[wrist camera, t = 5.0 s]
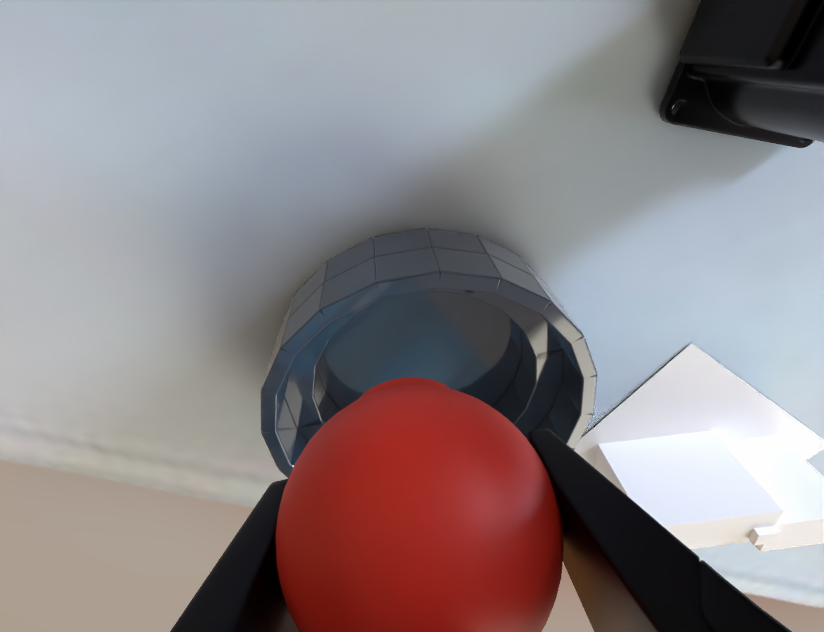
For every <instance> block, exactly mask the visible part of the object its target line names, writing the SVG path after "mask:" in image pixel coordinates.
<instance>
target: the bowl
mask: <svg viewBox="0 0 824 632" xmlns="http://www.w3.org/2000/svg"><path fill="white" fill-rule="evenodd" d="M408 377H416V378H425V379H430V380H434V381H437V382H439V383H442V384H444V385H446V386H447V387H449V388H450V389H453V390H457V391H460V392H462V393H465V394H468V395H470V396H473V397H475V398H477V399H479V400H481V401H483V402H484V403H486V404H488V405H489V406H491V407H493V408H494V409H496V410H497V411H498V412H500V413H501V414H502V415H504V416H505V417H506V418H507V419H508V420H509V421H510V422H512V423H513V424H514V425H515V426H516V427H517V428H518V429H519V431H520V432H521V433H522V434H523V435H524V436H525V437H526V438H527V433H528V432H529V431H530V430H535V429H540V428H548V429H550V430H551V431H552V432H553V433H554V434H555V435H557V436H558V437H559V438H560V439H561V440H563V441H564V442H565V443H566V444H567V445H568V446H570V447H571V448H572V449H573V450H575V448H576V447H577V445H578V443H579V441H580V439H581V437H582V435H583V433H584V431H585V429H586V427H587V426H588V424H589V422H590V420H591V418H592V416H593V413H594V403H595V393H596V383H597V372H596V369H595V366H594V363H593V360H592V357H591V354H590V351H589V348H588V345H587V342H586V339H585V337H584V335H583V333H582V332H581V330H580V329H579V328H578V326H577V325H576V324H575V322H574V321H573V320H572V318H571V317H570V316H569V314H568V313H567V312H566V310H565V309H564V308H563V307H562V305H561V304H560V302H559V301H558V300H557V298H556V297H555V296H554V294H553V293H552V292H551V290H550V289H549V288H548V286H547V285H546V284H545V283H544V282H543V281H542V280H541V279H540V278H539V276H538V275H537V274H536V273H535V272H534V271H533V270H532V269H531V268H530V267H529V266H528V265H527V264H526V263H525V262H524V260H523V259H522V258H521V257H520V256H518V255H517V254H515V253H513V252H511V251H509V250H507V249H505V248H503V247H501V246H499V245H497V244H495V243H493V242H491V241H489V240H487V239H485V238H483V237H481V236H479V235H474V234H467V233H460V232H452V231H445V230H437V229H430V228H427V229H426V228H421V229H415V230H410V231H404V232H398V233H392V234H386V235H381V236H375V237H374V238H370V239H369V240H367V241H365V242H363V243H361V244H359V245H357V246H355V247H353V248H351V249H349V250H347V251H345V252H343V253H341V254H339V255H337V256H335V257H333V258H331V259H330V260H329V261H326V263H325V264H324V265H323V266H322V267H321V268H320V269H319V270H318V271H317V272H316V273H315V274H314V275H313V276H312V277H311V278H310V279H309V280H308V281H307V282H306V283H305V284H304V285H303V286H302V287H301V288H300V289H299V290H298V291H297V292H296V294H295V295H294V297H293V300H292V302H291V304H290V307H289V309H288V311H287V313H286V316H285V318H284V320H283V323H282V325H281V327H280V329H279V332H278V335H277V339H276V342H275V345H274V349H273V352H272V355H271V358H270V362H269V365H268V368H267V372H266V375H265V378H264V382H263V385H262V388H261V432H262V435H263V437H264V440H265V442H266V444H267V446H268V448H269V450H270V452H271V455H272V457H273V459H274V461H275V463H276V465H277V467H278V468H279V470H280V471H281V472H282V473H283V474H284V475H285V476H287V477H288V478H289V476H290V474H291V471H292V469H293V467H294V465H295V463H296V461H297V459H298V458H299V456H300V455H301V453H302V451H303V450H304V448H305V447H306V445H307V444H308V442H309V441H310V439H311V438H312V437H313V436H314V435H315V434H316V433H317V431H318V430H319V429H320V428H321V427H322V426H323V425H324V424H325V423H326V422H327V421H328V420H329V419H330V418H332V417H333V416H334V415H335V414H336V413H338V412H339V411H341V410H342V409H344V408H345V407H347V406H348V405H350V404H351V403H353V402H354V401H356V400H358V399H359V397H360V396H362V395H363V394H364V393H365V392H366V391H368V390H369V389H371V388H373V387H375V386H377V385H378V384H381V383H384V382H386V381H390V380H393V379H399V378H408Z"/></svg>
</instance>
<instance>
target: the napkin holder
mask: <svg viewBox="0 0 824 632" xmlns="http://www.w3.org/2000/svg"><path fill="white" fill-rule="evenodd" d="M823 449H824V439H822V438H821V437H820V436H818V435H817V434H816V433H814V432H813V431H811V430H810V429H809V428H807V427H806V426H805V425H803V424H802V423H800V422H799V421H798V420H796V419H795V418H794V417H792V416H791V415H790V414H788V413H787V412H785V411H784V410H783V409H781V408H780V407H779V406H777V405H776V404H774V403H773V402H772V401H770V400H769V399H768V398H766V397H765V396H763V395H762V394H761V393H759V392H758V391H757V390H755V389H754V388H753V387H751V386H750V385H748V384H747V383H746V382H744V381H743V380H742V379H740V378H739V377H737V376H736V375H735V374H733V373H732V372H731V371H729V370H728V369H727V368H725V367H724V366H722V365H721V364H720V363H718V362H717V361H716V360H714V359H713V358H711V357H710V356H709V355H707V354H706V353H705V352H703V351H702V350H701V349H699V348H698V347H696V346H695V345H694V344H692V343H691V344H690V345H689V346H688V347H687V348H685V349H684V350H683V351H682V352H681V353H680V354H678V355H677V356H676V357H675V358H674V359H673V360H671V361H670V362H669V363H668V364H667V365H666V366H665V367H663V368H662V369H661V370H660V371H659V372H658V373H656V374H655V375H654V376H653V377H652V378H651V379H649V380H648V381H647V382H646V383H645V384H644V385H643V386H641V387H640V388H639V389H638V390H637V391H636V392H634V393H633V394H632V395H631V396H630V397H629V398H627V399H626V400H625V401H624V402H623V403H622V404H620V405H619V406H618V407H617V408H616V409H615V410H614V411H612V412H611V413H610V414H609V415H608V416H607V417H605V418H604V419H603V420H602V421H601V422H600V423H598V424H597V425H596V426H595V427H594V428H593V429H592V430H590V431H589V432H588V433H587V434H586V435H585V436H583V437H582V438H581V439H580V441H579V443H578V445H577V447H576V448H575V450H574V451H575V452H577V453H578V454H579V455H580V456H581V457H582V458H584V459H585V460H586V461H587V462H588V463H589V464H591V465H592V466H593V467H594V468H595V469H597V470H598V471H599V472H600V473H601V474H602V475H604V476H605V477H606V478H607V479H608V480H609V481H611V482H612V483H613V484H614V485H615V486H616V487H618V488H619V489H620V490H621V491H622V492H623V493H625V494H626V495H627V496H628V497H629V498H630V499H632V500H633V501H634V502H635V503H636V504H638V505H639V506H640V507H641V508H642V509H643V510H645V511H646V512H647V513H648V514H649V515H650V516H652V517H653V518H654V519H655V520H656V521H657V522H659V523H660V524H661V525H662V526H663V527H664V528H666V529H667V530H668V531H669V532H670V533H672V534H673V535H674V536H675V537H676V538H677V539H679V540H680V541H681V542H682V543H683V544H684V545H686V546H687V547H688V548H689V549H695V548H703V547H711V546H718V545H726V544H733V543H741V542H749V541H751V543H752V544H753V545H755V546H756V547H757V549H758V550H759V551H760V552H761V551H768V550H776V549H784V548H791V547H799V546H806V545H814V544H821V543H824V477H823V476H822V475H821V474H820V473H819V472H818V471H817V470H816V469H815V468H814V467H813V466H812V465H811V464H810V463H809V462H807V461H806V460H808V459H809V458H811V457H812V456H814V455H815V454H817V453H818V452H820V451H821V450H823Z"/></svg>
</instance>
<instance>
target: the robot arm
mask: <svg viewBox="0 0 824 632" xmlns="http://www.w3.org/2000/svg"><path fill="white" fill-rule="evenodd" d="M678 102H679V104H680V107H679V110H678V111H677V113H675V114H674V115H673V113H672V110H673V107H674V106H675V104H677V103H678ZM659 113H660V117H661V119H662V120H663V121H665V122H667V123H671V124H675V125H681V126H686V127H691V128H697V129H702V130H707V131H713V132H718V133H723V134H728V135H734V136H739V137H744V138H750V139H755V140H760V141H765V142H771V143H776V144H781V145H787V146H792V147H797V148H804V147H807V146H809V145H810V144H811V143H813V142H814V141H815V140H816V141H821V142H824V0H701V2H700V5H699V7H698V10H697V12H696V15H695V17H694V19H693V22H692V24H691V27H690V29H689V32H688V34H687V37H686V39H685V41H684V44H683V46H682V49H681V51H680V60H679V62H678V65H677V67H676V70H675V72H674V74H673V77H672V79H671V82H670V84H669V87H668V89H667V91H666V94H665V96H664V99H663V101H662V104H661V106H660V110H659ZM527 440H528V441H529V442H530V444H531V445H532V447H533V448H534V449H535V451H536V453H537V454H538V456H539V457H540V459H541V461H542V463H543V465H544V466H545V468H546V470H547V472H548V475H549V477H550V480H551V483H552V486H553V489H554V491H555V494H556V498H557V501H558V505H559V509H560V514H561V519H562V527H563V542H564V552H563V562H564V565H565V567H566V569H567V571H568V574H569V576H570V578H571V580H572V583H573V585H574V587H575V589H576V591H577V593H578V596H579V598H580V601H581V603H582V605H583V607H584V610H585V612H586V614H587V616H588V618H589V621H590V623H591V625H592V627H593V630H594V632H792V631H790V630H789V629H788V628H786V627H785V626H784V625H782V624H781V623H780V622H778V621H777V620H776V619H774V618H773V617H772V616H770V615H769V614H768V613H767V612H765V611H764V610H762V609H761V608H760V607H759V606H757V605H756V604H755V603H754V602H752V601H751V600H750V599H749V598H747V597H746V596H745V595H744V594H743V593H741V592H740V591H739V590H738V589H737V588H735V587H734V586H733V585H732V584H730V583H729V582H728V581H727V580H726V579H724V578H723V577H722V576H721V575H720V574H719V573H717V572H716V571H715V570H714V569H713V568H712V567H710V566H709V565H708V564H707V563H706V562H705V561H702V560H701V561H700V562H699V557H698V556H697V555H696V554H695V553H694V552H693V551H691V550H690V549H689V548H688V547H687V546H686V545H684V544H683V543H682V542H681V541H680V540H679V539H677V538H676V537H675V536H674V535H673V534H672V533H670V532H669V531H668V530H667V529H666V528H664V527H663V526H662V525H661V524H660V523H659V522H657V521H656V520H655V519H654V518H653V517H652V516H650V515H649V514H648V513H647V512H646V511H645V510H643V509H642V508H641V507H640V506H639V505H638V504H636V503H635V502H634V501H633V500H632V499H630V498H629V497H628V496H627V495H626V494H625V493H623V492H622V491H621V490H620V489H619V488H618V487H616V486H615V485H614V484H613V483H612V482H611V481H609V480H608V479H607V478H606V477H605V476H604V475H602V474H601V473H600V472H599V471H598V470H597V469H595V468H594V467H593V466H592V465H591V464H589V463H588V462H587V461H586V460H585V459H584V458H582V457H581V456H580V455H579V454H578V453H577V452H575V451H574V450H573V449H572V448H571V447H570V446H568V445H567V444H566V443H565V442H564V441H563V440H561V439H560V438H559V437H558V436H557V435H555V434H554V433H553V432H552V431H551V430H550V429H548V428H540V429H535V430H530V431H529V432H528V433H527ZM287 481H288V479H286V480H281V481H276V482H273V483H272V484H271V485H270V486H269V487H268V489H267V490H266V492H265V493H264V495H263V496H262V498H261V499H260V501H259V502H258V503H257V505H256V506H255V508H254V509H253V511H252V512H251V514H250V515H249V517H248V518H247V520H246V521H245V523H244V524H243V525H242V527H241V529H240V530H239V532H238V533H237V534H236V536H235V537H234V539H233V540H232V542H231V543H230V545H229V546H228V548H227V549H226V551H225V552H224V553H223V555H222V556H221V558H220V559H219V561H218V562H217V564H216V565H215V567H214V568H213V570H212V571H211V573H210V574H209V576H208V577H207V578H206V580H205V581H204V583H203V584H202V586H201V587H200V589H199V590H198V592H197V593H196V595H195V596H194V598H193V599H192V600H191V602H190V603H189V605H188V606H187V608H186V609H185V611H184V612H183V614H182V615H181V617H180V618H179V620H178V621H177V622H176V624H175V626H174V627H173V628H172V630H171V631H170V632H299V630H298V628H297V627H296V625H295V623H294V621H293V619H292V617H291V615H290V613H289V610H288V607H287V605H286V602H285V599H284V596H283V593H282V589H281V585H280V580H279V575H278V570H277V558H276V528H277V518H278V513H279V507H280V503H281V499H282V495H283V492H284V488H285V486H286V483H287Z"/></svg>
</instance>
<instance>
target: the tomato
mask: <svg viewBox="0 0 824 632" xmlns="http://www.w3.org/2000/svg"><path fill="white" fill-rule="evenodd" d="M563 552H564V542H563V527H562V519H561V514H560V509H559V505H558V501H557V498H556V494H555V491H554V489H553V486H552V483H551V480H550V477H549V475H548V472H547V470H546V468H545V466H544V465H543V463H542V461H541V459H540V457H539V456H538V454H537V453H536V451H535V449H534V448H533V447H532V445H531V444H530V442H529V441H528V440H527V438H526V437H525V436H524V435H523V434H522V433H521V432H520V431H519V429H518V428H517V427H516V426H515V425H514V424H513V423H512V422H510V421H509V420H508V419H507V418H506V417H505V416H504V415H502V414H501V413H500V412H498V411H497V410H496V409H494V408H493V407H491V406H489V405H488V404H486V403H484V402H483V401H481V400H479V399H477V398H475V397H473V396H470V395H468V394H465V393H462V392H460V391H457V390H453V389H450V388H449V387H447V386H446V385H444V384H442V383H439V382H437V381H434V380H430V379H425V378H416V377H408V378H399V379H393V380H390V381H386V382H384V383H381V384H378V385H377V386H375V387H373V388H371V389H369V390H368V391H366V392H365V393H364V394H363V395H362V396H360V397H359V399H358V400H356V401H354V402H353V403H351V404H350V405H348V406H347V407H345V408H344V409H342V410H341V411H339V412H338V413H336V414H335V415H334V416H333V417H332V418H330V419H329V420H328V421H327V422H326V423H325V424H324V425H323V426H322V427H321V428H320V429H319V430H318V431H317V433H316V434H315V435H314V436H313V437H312V438H311V439H310V441H309V442H308V444H307V445H306V447H305V448H304V450H303V451H302V453H301V455H300V456H299V458H298V459H297V461H296V463H295V465H294V467H293V469H292V471H291V474H290V476H289V478H288V481H287V483H286V486H285V488H284V492H283V495H282V499H281V503H280V507H279V513H278V518H277V528H276V558H277V570H278V575H279V580H280V585H281V589H282V593H283V596H284V599H285V602H286V605H287V607H288V610H289V613H290V615H291V617H292V619H293V621H294V623H295V625H296V627H297V628H298V630H299V632H541V631H542V630H543V628H544V626H545V624H546V622H547V620H548V617H549V615H550V612H551V610H552V608H553V605H554V602H555V599H556V596H557V591H558V587H559V584H560V580H561V573H562V562H563Z"/></svg>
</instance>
